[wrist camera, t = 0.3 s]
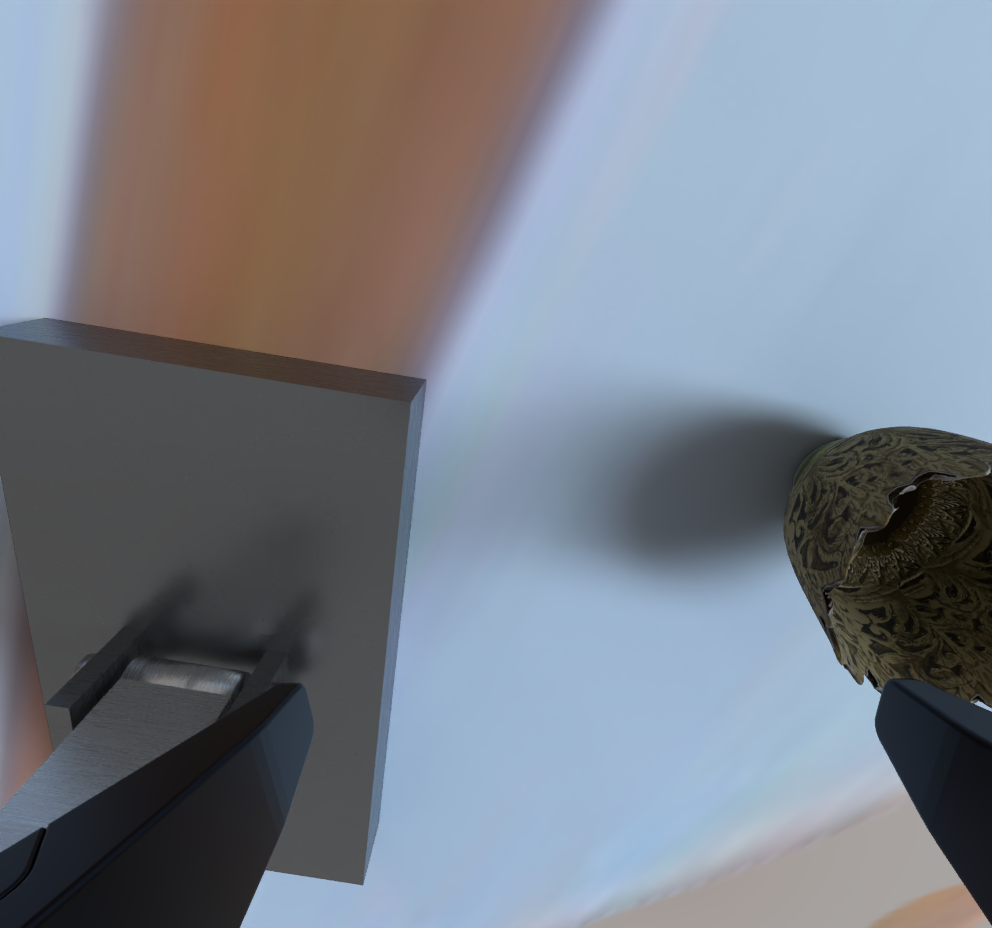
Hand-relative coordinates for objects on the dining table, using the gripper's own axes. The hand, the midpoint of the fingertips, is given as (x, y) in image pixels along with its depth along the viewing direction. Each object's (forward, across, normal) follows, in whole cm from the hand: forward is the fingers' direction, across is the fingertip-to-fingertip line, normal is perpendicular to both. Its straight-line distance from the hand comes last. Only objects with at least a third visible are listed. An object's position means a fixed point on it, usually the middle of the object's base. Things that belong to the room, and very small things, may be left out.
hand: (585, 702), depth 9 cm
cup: (+14, +11, -3) cm, 18 cm away
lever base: (+14, -14, -9) cm, 21 cm away
